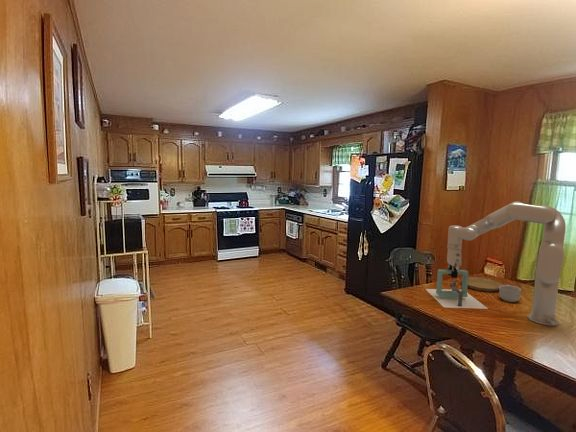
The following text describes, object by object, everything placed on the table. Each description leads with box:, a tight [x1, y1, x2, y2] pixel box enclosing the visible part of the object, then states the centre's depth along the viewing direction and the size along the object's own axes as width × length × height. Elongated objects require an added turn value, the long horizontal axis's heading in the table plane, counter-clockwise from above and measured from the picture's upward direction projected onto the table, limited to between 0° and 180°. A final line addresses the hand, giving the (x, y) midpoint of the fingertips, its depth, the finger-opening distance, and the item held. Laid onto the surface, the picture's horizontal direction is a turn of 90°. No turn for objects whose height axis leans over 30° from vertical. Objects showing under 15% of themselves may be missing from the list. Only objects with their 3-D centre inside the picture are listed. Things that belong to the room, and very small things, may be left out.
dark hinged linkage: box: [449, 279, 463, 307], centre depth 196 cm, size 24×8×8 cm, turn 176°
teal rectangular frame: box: [436, 268, 469, 297], centre depth 196 cm, size 6×16×15 cm, turn 85°
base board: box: [425, 288, 489, 310], centre depth 197 cm, size 30×24×2 cm
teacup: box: [498, 284, 522, 303], centre depth 198 cm, size 14×11×8 cm
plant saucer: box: [460, 276, 503, 293], centre depth 222 cm, size 24×24×3 cm
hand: (452, 276), depth 196 cm, fingers closed on teal rectangular frame, 4 cm apart
